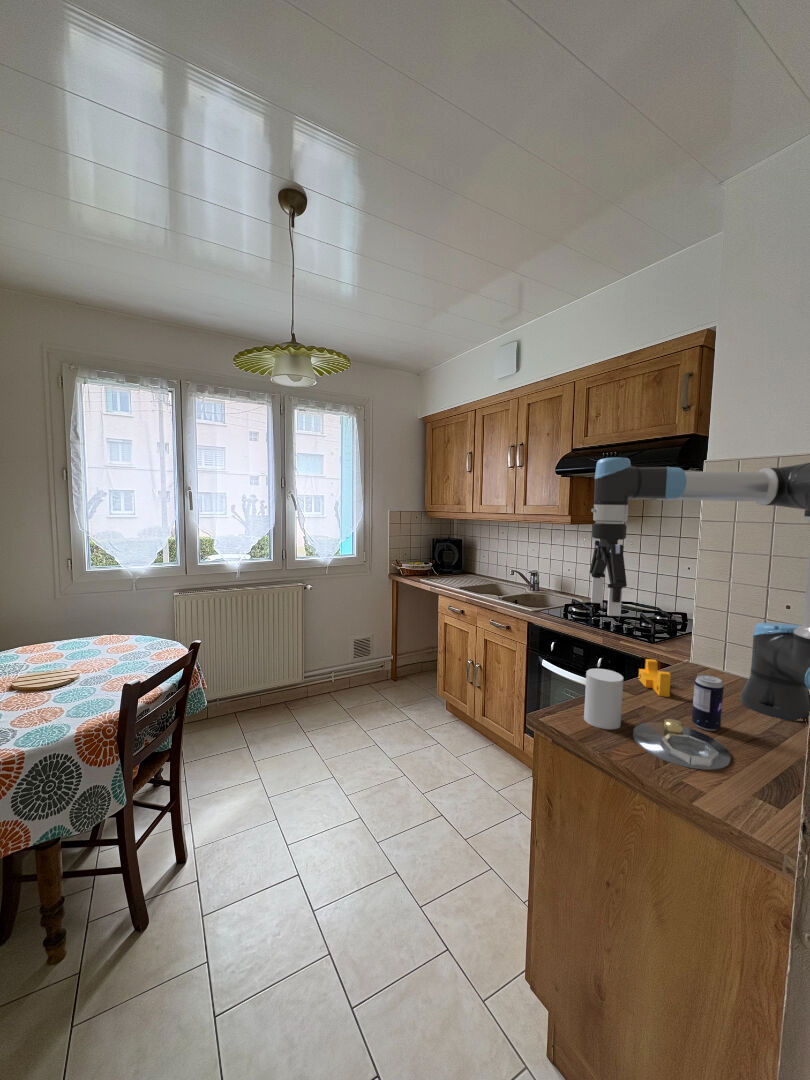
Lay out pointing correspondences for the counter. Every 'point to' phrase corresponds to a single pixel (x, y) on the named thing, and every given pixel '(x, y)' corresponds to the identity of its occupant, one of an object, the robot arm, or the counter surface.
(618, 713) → the white cylinder
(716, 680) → the beverage can
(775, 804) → the counter surface
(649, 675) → the pipe clamp
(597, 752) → the counter surface
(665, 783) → the counter surface
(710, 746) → the carrier
